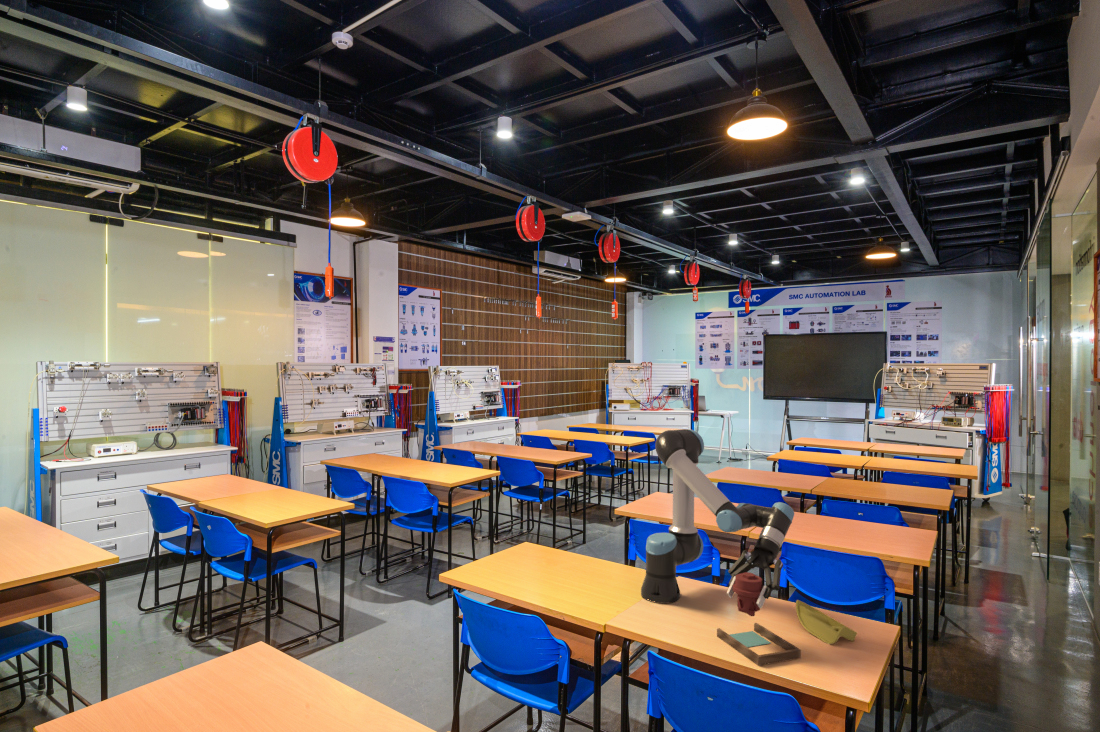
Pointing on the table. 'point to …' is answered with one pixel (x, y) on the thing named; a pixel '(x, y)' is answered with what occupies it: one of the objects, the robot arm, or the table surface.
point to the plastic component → (822, 624)
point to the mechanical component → (747, 592)
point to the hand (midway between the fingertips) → (743, 600)
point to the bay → (753, 639)
